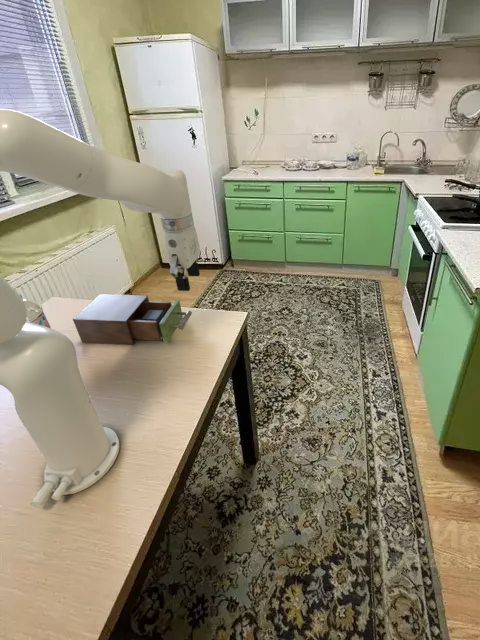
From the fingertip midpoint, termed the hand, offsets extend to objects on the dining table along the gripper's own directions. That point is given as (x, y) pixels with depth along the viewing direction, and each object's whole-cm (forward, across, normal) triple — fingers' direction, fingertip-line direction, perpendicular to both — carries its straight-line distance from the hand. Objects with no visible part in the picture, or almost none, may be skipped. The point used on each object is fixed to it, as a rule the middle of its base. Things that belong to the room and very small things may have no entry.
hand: (189, 282), depth 88 cm
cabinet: (+18, 0, +25) cm, 31 cm away
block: (+16, 0, +13) cm, 20 cm away
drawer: (+17, 0, +12) cm, 21 cm away
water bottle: (+18, -19, +31) cm, 41 cm away
